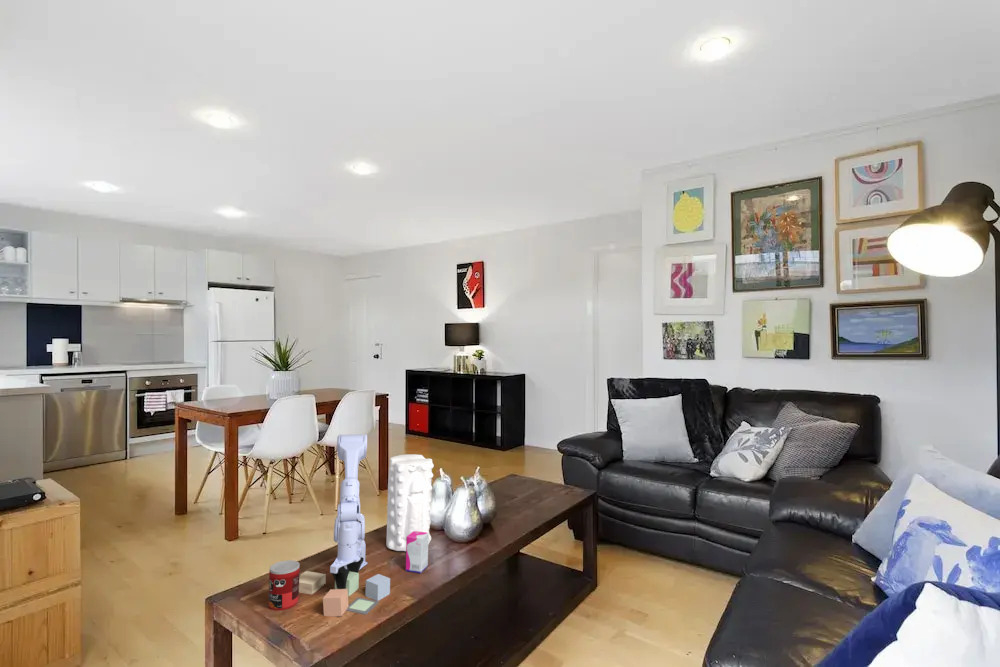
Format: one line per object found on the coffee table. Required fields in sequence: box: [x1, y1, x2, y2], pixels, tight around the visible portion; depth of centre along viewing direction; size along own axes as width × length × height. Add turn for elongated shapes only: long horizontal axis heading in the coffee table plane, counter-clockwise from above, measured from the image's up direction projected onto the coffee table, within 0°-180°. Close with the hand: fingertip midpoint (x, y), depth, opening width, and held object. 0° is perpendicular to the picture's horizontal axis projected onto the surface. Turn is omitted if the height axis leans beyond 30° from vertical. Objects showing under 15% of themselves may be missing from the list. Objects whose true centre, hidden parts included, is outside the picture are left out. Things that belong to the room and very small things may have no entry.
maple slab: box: [299, 570, 327, 595], centre depth 154 cm, size 7×7×4 cm
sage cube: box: [334, 572, 360, 597], centre depth 153 cm, size 5×5×5 cm
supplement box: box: [405, 531, 430, 574], centre depth 169 cm, size 6×6×12 cm
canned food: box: [268, 559, 301, 611], centre depth 145 cm, size 8×8×11 cm
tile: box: [345, 597, 380, 616], centre depth 144 cm, size 7×7×1 cm
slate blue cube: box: [364, 573, 391, 602], centre depth 151 cm, size 5×5×5 cm
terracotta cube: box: [322, 588, 350, 617], centre depth 141 cm, size 5×5×5 cm
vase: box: [385, 453, 435, 552], centre depth 189 cm, size 17×16×32 cm
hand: (346, 586), depth 153 cm, fingers closed on sage cube, 5 cm apart
